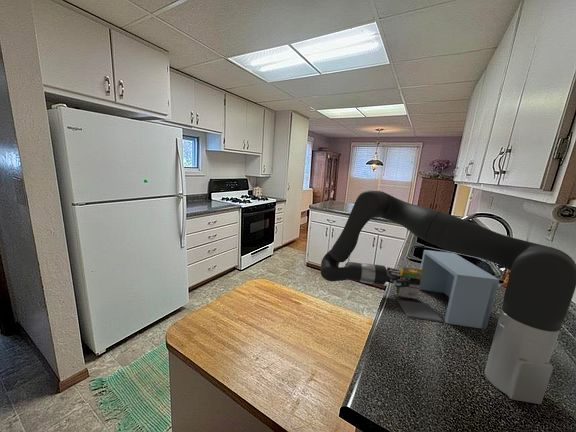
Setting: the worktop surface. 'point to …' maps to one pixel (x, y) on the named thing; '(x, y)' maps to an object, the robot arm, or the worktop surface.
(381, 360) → the worktop surface
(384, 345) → the worktop surface
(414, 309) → the mat
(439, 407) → the worktop surface
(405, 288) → the crayon box
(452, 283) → the cubby
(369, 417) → the worktop surface
